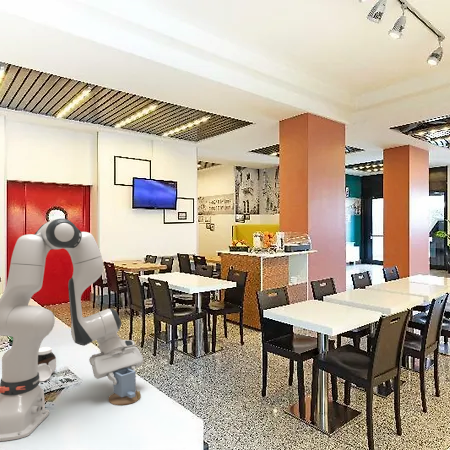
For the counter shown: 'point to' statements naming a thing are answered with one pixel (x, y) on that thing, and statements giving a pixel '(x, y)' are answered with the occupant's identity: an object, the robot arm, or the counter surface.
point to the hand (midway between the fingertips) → (125, 381)
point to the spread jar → (46, 363)
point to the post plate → (124, 399)
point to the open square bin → (125, 382)
